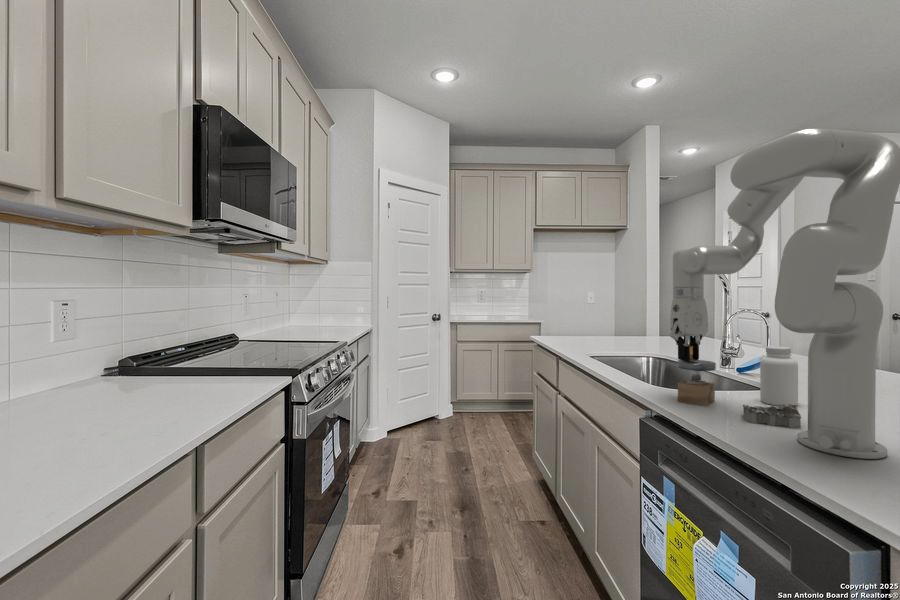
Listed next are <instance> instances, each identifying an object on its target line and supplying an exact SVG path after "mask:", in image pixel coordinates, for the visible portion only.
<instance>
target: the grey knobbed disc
mask: <svg viewBox="0 0 900 600" xmlns="http://www.w3.org/2000/svg"><path fill="white" fill-rule="evenodd" d="M688 346H690V360H689V361H686V360H679V359H677V368H678V369H681V370H687V371H691V380H699V381H702V372H710V371H711V372H712V371H713V372H714V371H716V370H717V363H716V362H714V361H710V360H704V359H698V360H697V359H693V346H691V345H688Z"/></svg>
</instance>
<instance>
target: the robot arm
mask: <svg viewBox="0 0 900 600" xmlns="http://www.w3.org/2000/svg"><path fill="white" fill-rule="evenodd" d="M805 177H809V178H827V179H829V178H831V179H840V180H843V182H842V183H841V184H840V185H839V187H838V188H837V189H836V191H835V192H834V194H833V195H832V198H831V201H830V205H829V210H828V215H827V220H826V222H817V223H811V224H808V225H804V226H803V227H801V228H799V229H797V230H796V231H795V232H794V233H793V234H792V235H791V236H790V238H789V239H788V241H787V242H786V244H785V246H784V248H783V251H782V255H781V260H780V267H779V272H778V279H777V283H776V289H775V290H776V291H775V296H774V297H775V298H774V313H775V316H776V318H777V320H778V322H779V323H780V325H781V326H782V327H783V328H785V329H787V330H788V331H791V332H794V333H798V334H813V335H812V338H811V341H810V344H809V346H808V347H809V348H808V353H807V430H802V431H800V432H797V437H796V438H797V441H798V442H799V443H801V444H802V445H804V446H806V447H807V448H811V449H813V450H816V451H819V452H822V453H826V454H830V455H831V454H832V455H834V456H835V455H836V456H839V457H840V456H841V457H844V458H845V457H847V458H852V459H861V460H862V459H866V460H877V459H883V458H885V457H887V456H888V448H887V447H886V446H884V445H883V444H881V443H880V442H877V441H876V393H877V392H876V391H877V390H876V387H877V386H876V379H877V378H876V377H877V376H876V373H877V345H878V339H879V333H880V329H881V326H882V322H883V317H884V305H883V302H882V299H881V297H880V295H878V294H877V292H876V291H875V290H873V289H872V288H871V287H868V286H866V285H863V284H861V283H856V282H853V281H852V282H851V281H849V282H848V281H836V280H837V277H838V276H857V275H858V276H859V275H863V274H867V273H870V272H873V271H875V269H876V268H878V267H879V266H880V265H881V263H882V262H883V258H884V256H885V252H886V248H887V244H888V238H889V234H890V229H891V225H892V218H893V215H894V207H895V202H896V197H897V195H898V191H899V188H900V146H899V145H898V144H897V143H896V142H895V141H893V140H892V139H889V138H888V137H885V136H882V135H879V134H875V133H872V132H871V133H870V132H865V131H864V132H863V131H855V130H842V129H841V130H839V129H832V128H831V129H829V128H805V129H802V130H798V131H795V132H792V133H789V134H787V135H784V136H781V137H780V138H777V139H774V140H772V141H767V142H766V143H764V144H760V145H758V146H756V147H753V148H751V149H750V150H748V151H746V152H745V153H744V154H742V155H741V156H740V157H739V158H738V159H737V160H736V161H735V163H734V164H733V165H732V168H731V171H730V182H731V183H732V185H733V186H734V187H735V188H737V190H740V191H739V192H738V193H737V195H736V196H735V197H734V199H733V200H732V201H731V202H730V204H729V205H728V207H727V209H726V210H727V211H726V212H727V216H729V218H730V219H731V220H732V221H733V222H734V223H735V224H737V225H739V226H740V229H739V232H738V234H737V235H736V236H735V237H734V239H732V241H731V242H730V243H729V244H728V245H697V246H694V247H692V248H688V249H687V248H686V249H678V250H676V251H674V253H672V299H671V305H670V317H669V323H670V324H669V327H670V335H669V337H670V338H672V339H673V340H674V341H675V344H676V346H677V360H686V361H689V360H690V346H688V345H691V346H693V359H697V360H700V345H701V341H702V340H703V338H704V337H705V336H706V335H707V333H709V316H708V306H707V302H706V299H705V297H704V296H705V294H704V293H705V289H704V283H705V282H704V280H705V279H704V278H705V277H704V275H733V274H736V273H737V272H739V271H741V270H742V269H744V268H745V267H746V266H747V265H748V264H749V263H750V262H751V261H752V259H753V258H754V257H755V256H756V255H757V254H758V252H759V251H760V249H761V247H762V245H763V241H764V237H765V227H764V226H765V224H766V223H767V221H768V220H769V219H770V218H771V217H772V216H773V215H774V213H775V212H776V211H777V210H778V208H780V206H781V205H783V203H784V202H785V200H787V198H788V197H789V196H790V195H791V194H792V192H793V191H794V190H795V189H796V188H797V187H798V185H799V184H800V183H801V182H802V181H803V179H804V178H805Z"/></svg>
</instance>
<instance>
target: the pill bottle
mask: <svg viewBox="0 0 900 600" xmlns="http://www.w3.org/2000/svg"><path fill="white" fill-rule="evenodd" d="M765 354H766V355H765V356H763V357H762V358H761V359H760V362H759V363H760V365H759V366H760V367H759V368H760V369H759V370H760V373H759V375H760V376H759V377H760V378H759V379H760V381H759V382H760V385H759V386H760V390H759V391H760V392H759V393H760V401H761V402H762V403H764V404H768V405H770V404H771V405H770V406H775V407H779V405H783V404H786V405H788V404H791V405H796V406H797V405H798V404H799V403H798V402H799V364H798V361H797V360H796V359H795V358H793V357H791V356H792V348H791V347H789V346H780V345H779V346H778V345H771V346H770V345H769V346H766V347H765Z"/></svg>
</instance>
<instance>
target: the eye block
mask: <svg viewBox="0 0 900 600" xmlns="http://www.w3.org/2000/svg"><path fill="white" fill-rule="evenodd" d="M715 389H716V388H715V382H710V381H709V382H708V381H705V380H692V379H685V380H683V381H680V382H678V383H677V402H679V403H685V404H689V405H696V406H702V407H709V406H710V405H711V404H713V403H715V402H714V401H716V400H715V398H716V395H715V391H716V390H715Z"/></svg>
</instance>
